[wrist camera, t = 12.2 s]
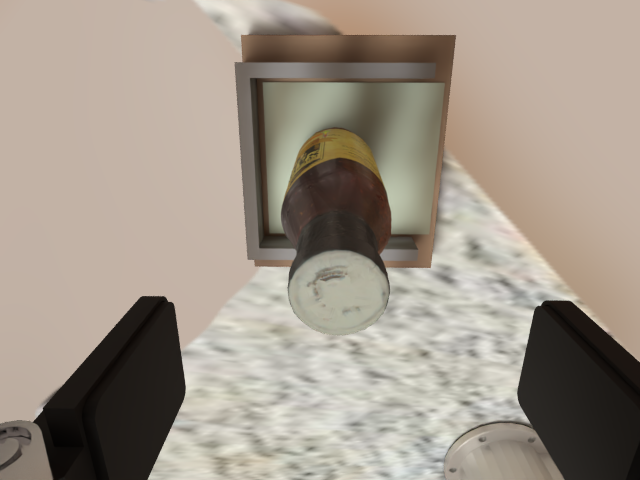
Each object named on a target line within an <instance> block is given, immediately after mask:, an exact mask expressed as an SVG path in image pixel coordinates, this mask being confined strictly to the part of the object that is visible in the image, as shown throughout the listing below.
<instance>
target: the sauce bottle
mask: <svg viewBox="0 0 640 480" xmlns="http://www.w3.org/2000/svg"><path fill="white" fill-rule="evenodd" d="M391 221H392V218H391V210H390V206H389V203H388V196H387V192H386V189H385V186H384V184H383V181H382V178H381V176H380V173H379V170H378V167H377V164H376V162H375V159H374V156H373V154H372V151H371V149H370V148H369V147H368V145H367V144H366V143H365V142H364V140H363V139H362V138H360V137H359V136H357V135H356V134H355V133H353V132H351V131H349V130H347V129H344V128H338V127H333V128H328V129H325V130H322V131H320V132H316V133H315V134H314V135H313V136H311V137H310V138H309V139H308V140H307V141H306V142H305V143H304V144H303V146H302V147H301V149H300V150H299V153H298V155H297V158H296V161H295V164H294V167H293V170H292V173H291V176H290V180H289V183H288V187H287V190H286V193H285V196H284V200H283V203H282V208H281V223H282V227H283V230H284V233H285V235H286V236H287V238H288V239H289V240H290V242H291V243H292V245H293V247H294V248H295V250H296V257H295V259H294V261H293V262H292V265H291V268H290V272H289V283H288V296H289V301H290V305H291V306H292V309H293V311H294V313H295V314H296V315H297V317H298V318H299V319H300V320H301V321H302V322H304V323H305V324H306V325H307V326H309V327H310V328H312V329H313V330H316V331H319V332H321V333H323V334H329V335H347V334H354V333H356V332H358V331H361V330H365V329H366V328H367V327H369V326H371V325H372V324H374V323H375V322H376V321H377V320H378V319H379V318H380V316H381V315H382V314H383V312H384V311H385V309H386V306H387V303H388V299H389V294H390V285H389V280H388V274H387V272H386V268H385V265H384V262H383V260H382V258H381V256H380V254H381V253H382V252H383V250H384V248H385V246H386V245H387V244H388V241H389V238H390V236H391Z"/></svg>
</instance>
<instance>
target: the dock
mask: <svg viewBox="0 0 640 480" xmlns="http://www.w3.org/2000/svg"><path fill="white" fill-rule="evenodd" d="M455 39H456V35H241V42H242V59H243V62H239V63H237V62H235V75H236V90H237V105H238V120H239V135H240V150H241V164H242V180H243V196H244V210H245V226H246V241H247V256H248V260H255V266H267V267H291V265H292V262H293V261H294V259H295V257H296V250H295V248H294V247H293V245H292V243H291V242H290V240H289V239H288V238H287V236H286V235H285V233H284V230H283V227H282V223H281V208H282V203H283V200H284V196H285V193H286V190H287V187H288V183H289V180H290V176H291V173H292V170H293V167H294V164H295V161H296V158H297V155H298V153H299V150H300V149H301V147H302V146H303V144H304V143H305V142H306V141H307V140H308V139H309V138H310V137H311V136H313V135H314V134H315V133H316V132H320V131H322V130H325V129H328V128H333V127H338V128H344V129H347V130H349V131H351V132H353V133H355V134H356V135H357V136H359V137H360V138H362V139H363V140H364V142H365V143H366V144H367V145H368V147H369V148H370V149H371V151H372V154H373V156H374V159H375V162H376V164H377V167H378V170H379V173H380V176H381V178H382V181H383V184H384V186H385V189H386V192H387V196H388V203H389V206H390V210H391V218H392V221H391V236H390V238H389V241H388V244H387V245H386V246H385V248H384V250H383V252H382V253H381V254H380V256H381V258H382V260H383V262H384V265H385V267H395V268H431V260H432V251H433V242H434V233H435V223H436V214H437V205H438V196H439V186H440V177H441V168H442V159H443V150H444V140H445V131H446V122H447V112H448V102H449V93H450V85H451V76H452V66H453V57H454V48H455Z"/></svg>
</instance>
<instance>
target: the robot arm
mask: <svg viewBox="0 0 640 480" xmlns="http://www.w3.org/2000/svg"><path fill="white" fill-rule="evenodd" d="M185 389H186V387H185V378H184V371H183V364H182V357H181V350H180V343H179V336H178V329H177V321H176V314H175V308H174V304H173V303H172V302H168V301H167V299H166V297H164V296H162V297H161V296H142V297H140V298H139V299H138V301H137V302H136V303H135V304H134V305H133V306H132V307H131V308H130V310H129V311H128V312H127V313H126V314H125V315H124V316H123V318H122V319H121V320H120V321H119V322H118V323H117V324H116V326H115V327H114V328H113V329H112V330H111V331H110V332H109V333H108V335H107V336H106V337H105V338H104V339H103V340H102V342H101V343H100V344H99V345H98V346H97V347H96V348H95V350H94V351H93V352H92V353H91V354H90V355H89V356H88V357H87V358H86V360H85V361H84V362H83V363H82V364H81V365H80V366H79V368H78V369H77V370H76V371H75V372H74V373H73V374H72V376H71V377H70V378H69V379H68V380H67V381H66V382H65V384H64V385H63V386H62V387H61V388H60V389H59V390H58V391H57V393H56V394H55V395H54V396H53V397H52V398H51V399H50V401H49V402H48V403H47V404H46V405H45V406H44V407H43V411H42V412H41V413H40V415H39V416H38V417H37V418H36V419H35V420H34V422H30V421H22V420H17V421H11V422H5V423H1V424H0V480H147V479H148V477H149V475H150V473H151V471H152V468H153V466H154V464H155V462H156V460H157V457H158V455H159V453H160V451H161V449H162V447H163V444H164V442H165V440H166V438H167V436H168V433H169V431H170V429H171V427H172V425H173V422H174V420H175V418H176V416H177V414H178V411H179V409H180V407H181V405H182V403H183V400H184V397H185ZM517 395H518V401H519V404H520V406H521V408H522V409H523V411H524V413H525V414H526V416H527V418H528V419H529V421H530V423H531V424H532V426H533V428H534V429H535V430H533V429H532V428H529V427H527V426H524V425H520V424H514V423H496V424H489V425H486V426H482V427H479V428H477V429H474V430H472V431H470V432H468V433H467V434H465V435H464V436H462V437H461V438H460V439H459V440H457V441H456V442H455V443H454V444H453V446H452V447H451V448H450V450H449V451H448V453H447V455H446V457H445V462H444V474H445V477H446V480H640V362H639V361H638V360H636V359H635V358H634V357H633V356H632V355H631V354H630V353H629V352H627V351H626V350H625V349H624V348H623V347H622V346H621V345H620V344H619V343H617V342H616V341H615V340H614V339H613V338H612V337H611V336H610V335H608V334H607V333H606V332H605V331H604V330H603V329H602V328H601V327H599V326H598V325H597V324H596V323H595V322H594V321H593V320H592V319H590V318H589V317H588V316H587V315H586V314H585V313H584V312H583V311H582V310H580V309H579V308H578V307H577V306H576V305H575V304H574V303H572V302H571V301H547V300H546V301H544V302H543V303H542V305H541V306H537V307H536V309H535V311H534V315H533V320H532V324H531V329H530V334H529V339H528V343H527V348H526V353H525V357H524V362H523V367H522V372H521V376H520V381H519V386H518V392H517ZM555 465H556V466H557V467H556V466H555Z"/></svg>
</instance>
